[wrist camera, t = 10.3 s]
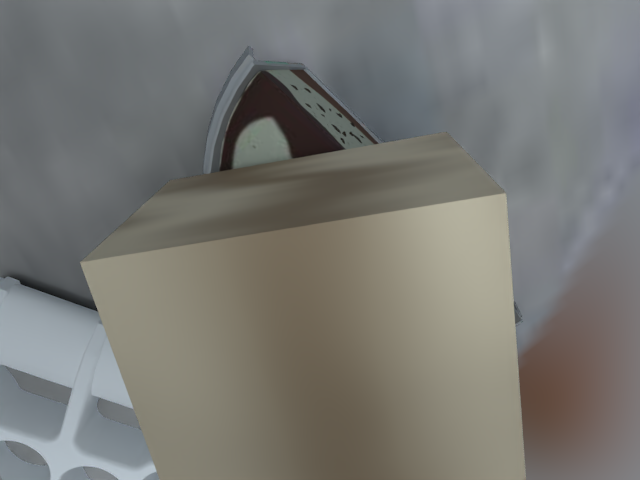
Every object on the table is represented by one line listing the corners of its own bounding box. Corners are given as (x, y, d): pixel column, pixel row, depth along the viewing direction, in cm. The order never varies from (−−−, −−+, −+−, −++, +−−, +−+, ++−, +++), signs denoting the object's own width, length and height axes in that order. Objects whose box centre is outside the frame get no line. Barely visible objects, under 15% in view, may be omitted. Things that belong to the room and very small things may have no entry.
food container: (189, 140, 26) (103, 206, 17) (277, 38, 24) (237, 47, 15) (376, 306, 29) (393, 442, 19) (467, 225, 27) (534, 332, 18)
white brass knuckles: (279, 360, 31) (200, 541, 36) (-48, 243, 29) (-83, 452, 34) (272, 398, 27) (187, 591, 32) (-96, 270, 26) (-126, 495, 31)
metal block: (234, 404, 19) (190, 563, 13) (169, 180, 16) (80, 262, 11) (471, 373, 18) (529, 527, 13) (446, 131, 15) (505, 192, 10)
